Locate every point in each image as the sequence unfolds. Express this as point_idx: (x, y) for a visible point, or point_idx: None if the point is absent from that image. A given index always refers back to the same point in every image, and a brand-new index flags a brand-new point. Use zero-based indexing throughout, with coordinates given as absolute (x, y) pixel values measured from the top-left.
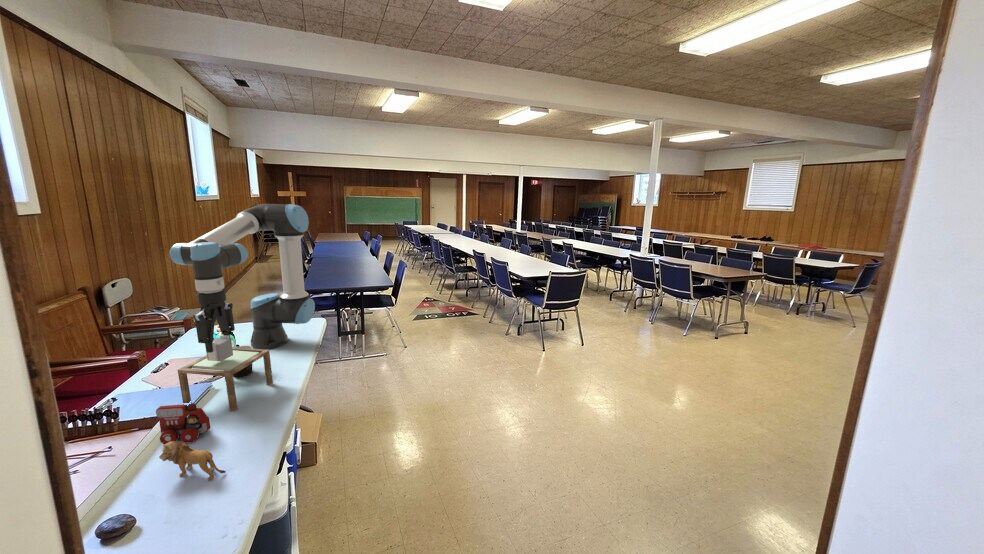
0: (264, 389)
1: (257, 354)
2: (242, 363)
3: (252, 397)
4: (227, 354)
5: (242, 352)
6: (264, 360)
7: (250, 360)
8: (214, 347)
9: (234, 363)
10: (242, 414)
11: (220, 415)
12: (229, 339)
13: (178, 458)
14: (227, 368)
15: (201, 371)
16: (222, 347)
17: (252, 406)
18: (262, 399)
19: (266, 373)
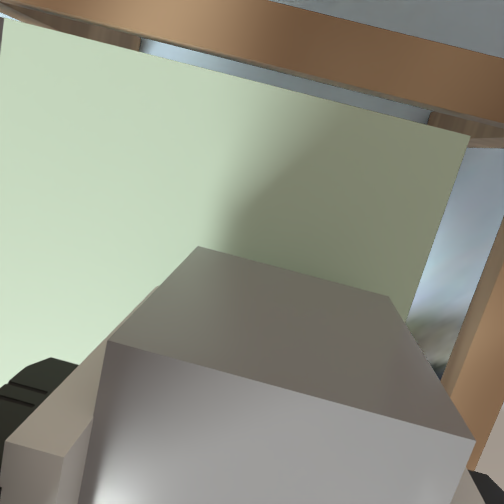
0: (194, 53)
1: (70, 9)
2: (330, 75)
3: (292, 86)
4: (282, 282)
5: (15, 227)
6: (42, 12)
7: (249, 13)
8: (474, 485)
9: (320, 174)
10: (500, 51)
11: (484, 181)
12: (154, 352)
13: None
14: (447, 192)
15: (488, 420)
16: (374, 364)
17: (409, 32)
18: (326, 5)
19: (103, 37)
